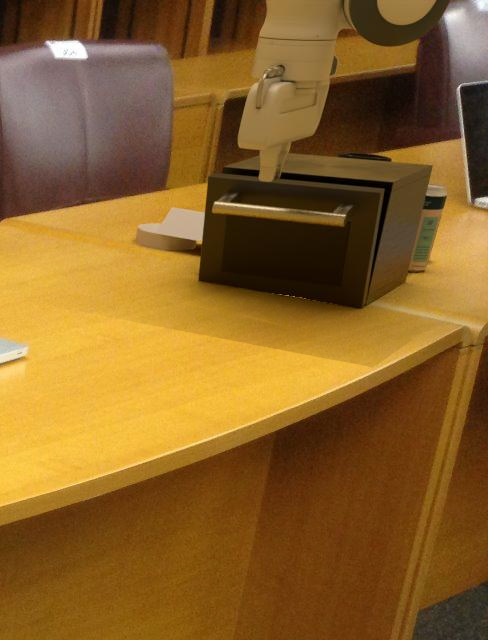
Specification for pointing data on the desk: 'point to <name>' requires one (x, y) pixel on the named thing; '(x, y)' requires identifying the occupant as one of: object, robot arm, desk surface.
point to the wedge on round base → (173, 231)
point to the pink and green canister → (428, 227)
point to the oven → (396, 213)
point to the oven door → (290, 237)
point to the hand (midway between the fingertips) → (268, 180)
